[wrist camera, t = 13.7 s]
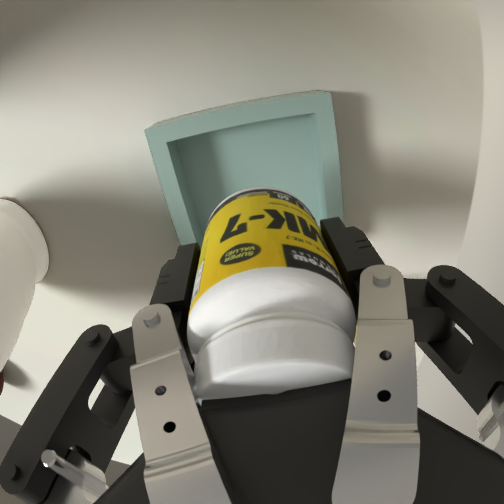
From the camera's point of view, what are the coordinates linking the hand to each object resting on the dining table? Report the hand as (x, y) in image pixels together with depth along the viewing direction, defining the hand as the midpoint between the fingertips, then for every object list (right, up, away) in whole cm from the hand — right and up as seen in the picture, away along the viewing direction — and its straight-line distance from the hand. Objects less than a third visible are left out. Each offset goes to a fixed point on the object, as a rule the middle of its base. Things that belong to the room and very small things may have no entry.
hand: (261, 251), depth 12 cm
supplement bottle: (0, +1, +1) cm, 2 cm away
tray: (0, +5, +7) cm, 9 cm away
